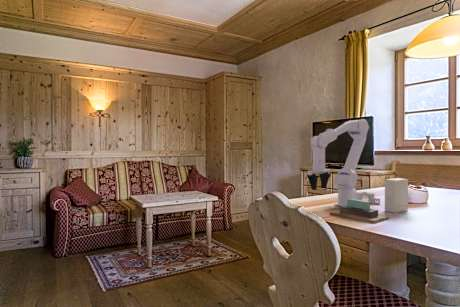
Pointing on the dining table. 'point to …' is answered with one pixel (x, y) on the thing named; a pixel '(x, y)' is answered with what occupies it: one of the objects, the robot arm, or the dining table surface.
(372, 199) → the lattice window wall
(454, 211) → the dining table surface
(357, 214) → the rail stand
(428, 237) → the dining table surface
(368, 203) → the clip
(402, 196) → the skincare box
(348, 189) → the robot arm
